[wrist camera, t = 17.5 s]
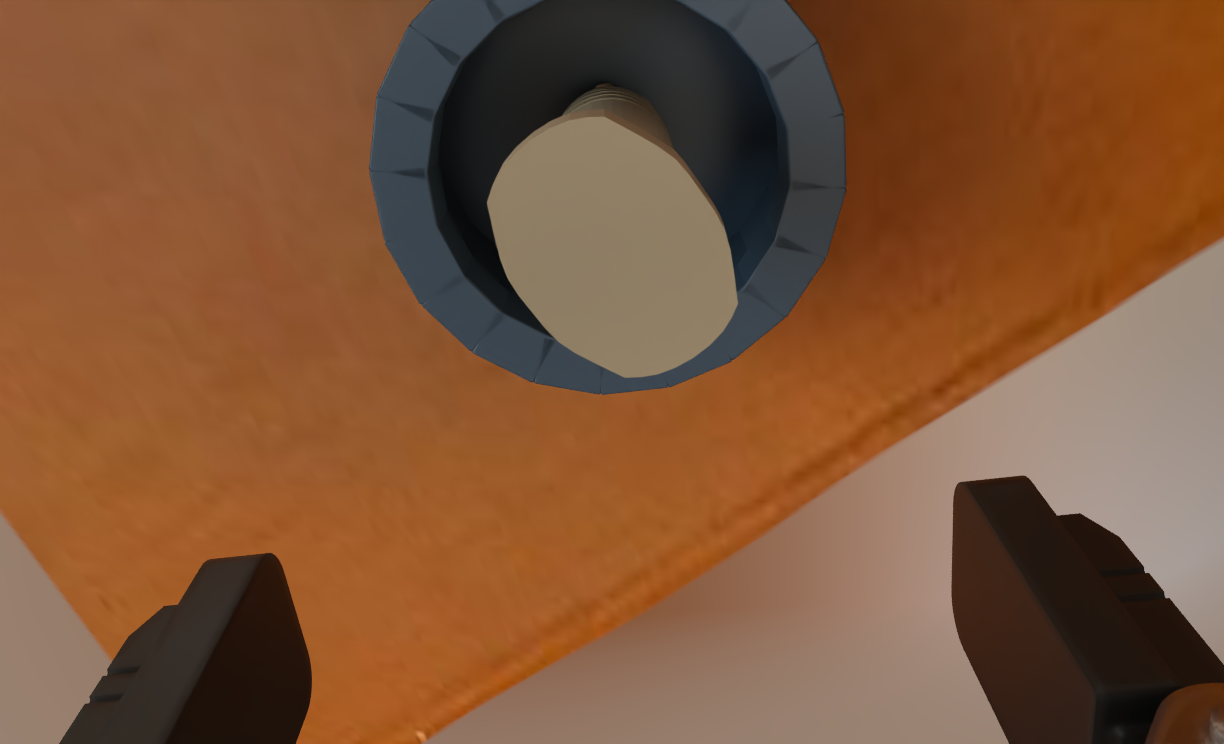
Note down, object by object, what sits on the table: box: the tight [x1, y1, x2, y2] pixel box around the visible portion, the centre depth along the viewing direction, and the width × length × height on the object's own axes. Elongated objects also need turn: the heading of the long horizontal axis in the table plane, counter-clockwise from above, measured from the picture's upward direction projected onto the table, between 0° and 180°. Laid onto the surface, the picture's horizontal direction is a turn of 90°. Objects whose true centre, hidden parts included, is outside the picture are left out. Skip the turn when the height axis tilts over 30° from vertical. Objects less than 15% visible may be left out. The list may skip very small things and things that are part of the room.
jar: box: [369, 0, 847, 395], centre depth 34 cm, size 14×14×8 cm
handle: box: [487, 82, 738, 378], centre depth 31 cm, size 5×6×15 cm
